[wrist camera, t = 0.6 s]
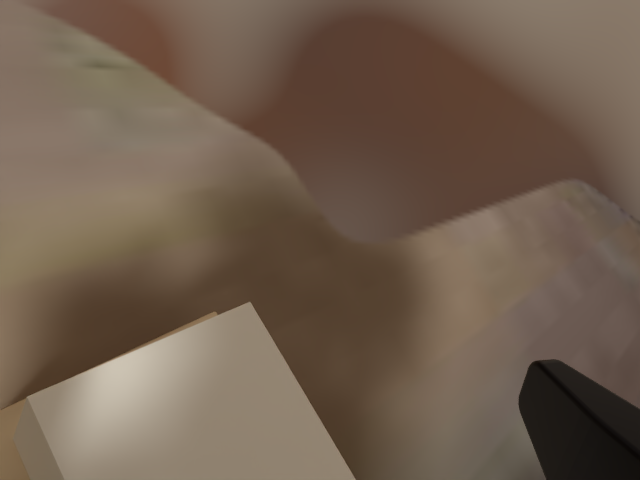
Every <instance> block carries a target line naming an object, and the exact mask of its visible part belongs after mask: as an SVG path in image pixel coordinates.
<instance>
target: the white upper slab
mask: <svg viewBox="0 0 640 480" xmlns="http://www.w3.org/2000/svg"><path fill="white" fill-rule="evenodd" d="M13 441H14V443H15V445H16V448H17V450H18V452H19V455H20V457H21V459H22V462H23V464H24V466H25V469H26V471H27V473H28V475H29V478H30V480H356V479H355V478H354V476H353V474H352V472H351V471H350V469H349V467H348V466H347V464H346V462H345V461H344V459H343V457H342V456H341V454H340V452H339V451H338V449H337V447H336V445H335V444H334V442H333V440H332V439H331V437H330V435H329V434H328V432H327V430H326V429H325V427H324V425H323V424H322V422H321V420H320V418H319V417H318V415H317V413H316V412H315V410H314V408H313V407H312V405H311V403H310V402H309V400H308V398H307V397H306V395H305V393H304V392H303V390H302V388H301V386H300V385H299V383H298V381H297V380H296V378H295V376H294V375H293V373H292V371H291V370H290V368H289V366H288V365H287V363H286V361H285V359H284V358H283V356H282V354H281V353H280V351H279V349H278V348H277V346H276V344H275V343H274V341H273V339H272V338H271V336H270V334H269V332H268V331H267V329H266V327H265V326H264V324H263V322H262V321H261V319H260V317H259V316H258V314H257V312H256V311H255V309H254V307H253V305H252V304H251V302H248V303H246V304H243V305H241V306H238V307H236V308H234V309H231V310H229V311H227V312H224V313H222V314H220V315H217V316H215V317H213V318H210V319H208V320H206V321H203V322H201V323H199V324H196V325H194V326H191V327H189V328H187V329H184V330H182V331H180V332H177V333H175V334H173V335H170V336H168V337H166V338H163V339H161V340H159V341H156V342H154V343H152V344H149V345H147V346H144V347H142V348H140V349H137V350H135V351H133V352H130V353H128V354H126V355H123V356H121V357H119V358H116V359H114V360H112V361H109V362H107V363H105V364H102V365H100V366H97V367H95V368H93V369H90V370H88V371H86V372H83V373H81V374H79V375H76V376H74V377H72V378H69V379H67V380H65V381H62V382H60V383H57V384H55V385H53V386H50V387H48V388H46V389H43V390H41V391H39V392H36V393H34V394H32V395H29V396H27V398H26V401H25V404H24V407H23V410H22V413H21V416H20V419H19V422H18V425H17V428H16V431H15V434H14V437H13Z"/></svg>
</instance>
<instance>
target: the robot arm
mask: <svg viewBox="0 0 640 480" xmlns="http://www.w3.org/2000/svg"><path fill="white" fill-rule="evenodd" d="M519 409H520V413H521V416H522V418H523V421H524V423H525V426H526V429H527V431H528V434H529V436H530V439H531V441H532V444H533V447H534V449H535V452H536V454H537V457H538V459H539V462H540V465H541V467H542V470H543V472H544V475H545V477H546V480H640V409H639V408H638V407H636V406H634V405H633V404H631V403H629V402H628V401H626V400H624V399H623V398H621V397H619V396H618V395H616V394H614V393H613V392H611V391H610V390H608V389H606V388H605V387H603V386H601V385H600V384H598V383H596V382H595V381H593V380H591V379H590V378H588V377H586V376H585V375H583V374H581V373H580V372H578V371H577V370H575V369H573V368H572V367H570V366H568V365H567V364H565V363H563V362H561V361H559V360H555V359H551V360H538V361H534V362H532V363H531V364H530V366H529V368H528V371H527V374H526V377H525V380H524V383H523V386H522V389H521V392H520V395H519Z"/></svg>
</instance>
